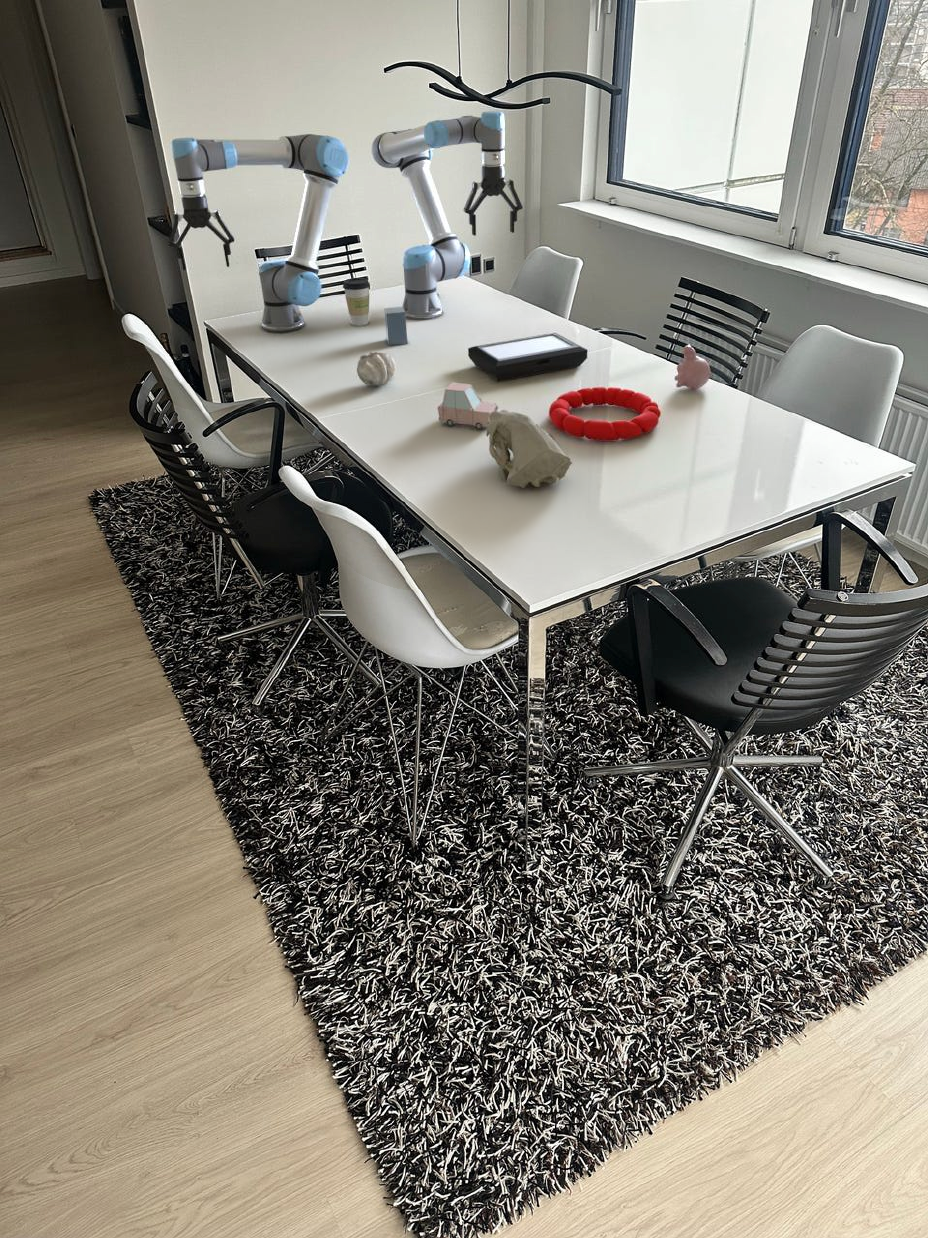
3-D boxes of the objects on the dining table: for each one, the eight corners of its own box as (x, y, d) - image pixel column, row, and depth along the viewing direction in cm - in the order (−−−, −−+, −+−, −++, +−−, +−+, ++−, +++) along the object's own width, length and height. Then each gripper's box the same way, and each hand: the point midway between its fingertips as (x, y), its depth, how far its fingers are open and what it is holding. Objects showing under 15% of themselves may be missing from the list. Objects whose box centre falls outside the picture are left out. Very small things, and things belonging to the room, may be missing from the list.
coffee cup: (372, 326, 323) (368, 283, 314) (345, 327, 323) (340, 284, 315) (374, 318, 331) (371, 276, 322) (348, 319, 331) (344, 277, 323)
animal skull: (496, 517, 219) (521, 479, 201) (463, 429, 225) (484, 384, 207) (557, 503, 225) (586, 465, 206) (523, 417, 231) (549, 373, 212)
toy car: (488, 432, 240) (488, 396, 234) (436, 426, 244) (434, 390, 239) (499, 419, 247) (499, 384, 241) (448, 413, 252) (447, 379, 246)
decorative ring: (589, 435, 224) (684, 402, 234) (527, 398, 247) (617, 369, 256) (589, 461, 229) (683, 427, 238) (529, 422, 251) (617, 393, 260)
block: (386, 339, 310) (384, 308, 304) (404, 338, 311) (402, 306, 305) (388, 345, 305) (386, 313, 299) (407, 343, 306) (405, 311, 300)
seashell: (349, 384, 274) (346, 352, 268) (393, 375, 279) (391, 343, 274) (362, 394, 266) (359, 361, 260) (407, 384, 272) (405, 352, 266)
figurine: (665, 387, 264) (669, 347, 257) (693, 380, 268) (698, 340, 261) (686, 396, 257) (690, 355, 250) (714, 388, 262) (720, 348, 255)
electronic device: (495, 363, 267) (468, 345, 282) (495, 383, 270) (468, 364, 285) (587, 347, 277) (556, 330, 292) (586, 366, 281) (555, 349, 296)
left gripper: (150, 199, 269) (165, 272, 281) (234, 194, 272) (245, 267, 284) (152, 195, 275) (167, 267, 287) (234, 190, 278) (246, 261, 290)
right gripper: (458, 168, 290) (460, 238, 302) (532, 164, 294) (530, 232, 306) (453, 165, 296) (455, 233, 308) (525, 161, 300) (524, 228, 312)
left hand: (206, 267), depth 285 cm, fingers open, 13 cm apart
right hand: (493, 233), depth 307 cm, fingers open, 13 cm apart
